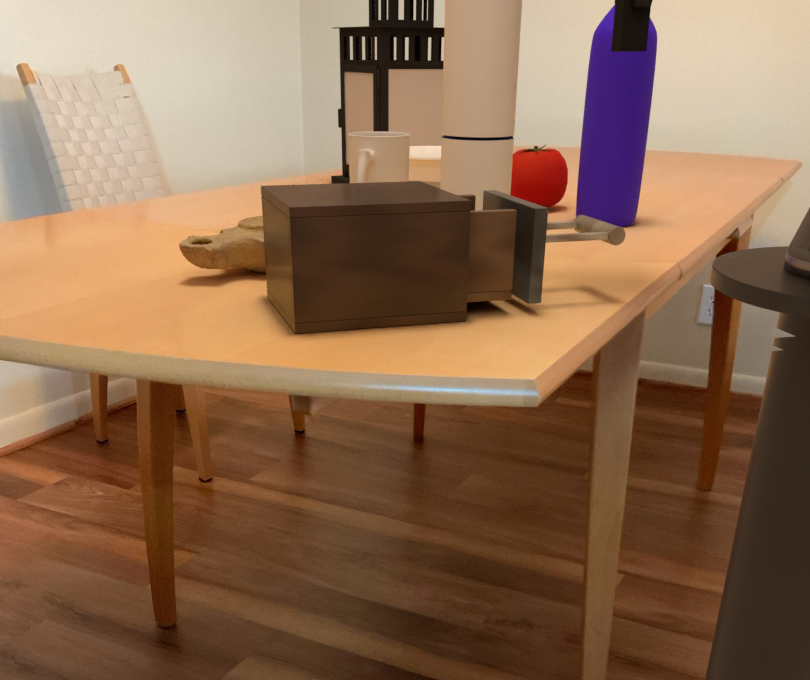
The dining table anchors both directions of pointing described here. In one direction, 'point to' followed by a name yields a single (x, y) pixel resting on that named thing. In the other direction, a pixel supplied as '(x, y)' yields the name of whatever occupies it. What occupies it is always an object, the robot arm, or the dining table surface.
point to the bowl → (425, 164)
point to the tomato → (539, 176)
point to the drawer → (519, 246)
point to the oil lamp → (229, 247)
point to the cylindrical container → (479, 95)
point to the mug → (379, 157)
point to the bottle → (615, 127)
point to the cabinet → (365, 254)
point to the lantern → (391, 77)
